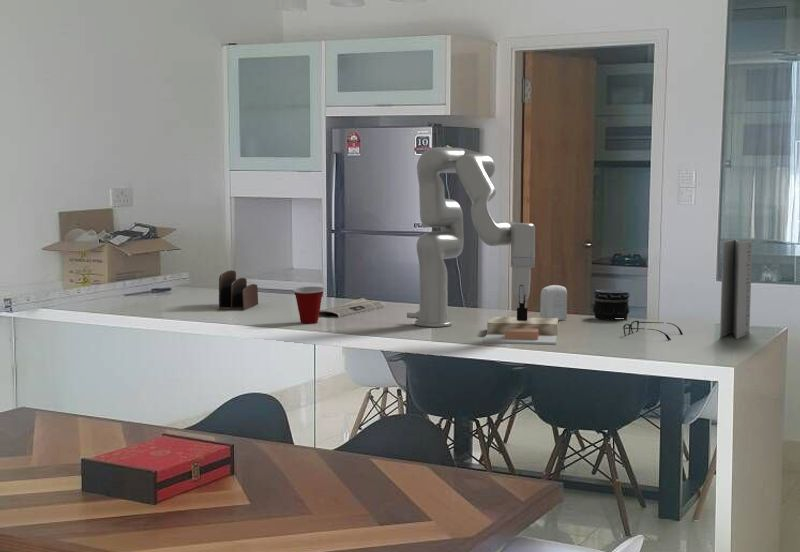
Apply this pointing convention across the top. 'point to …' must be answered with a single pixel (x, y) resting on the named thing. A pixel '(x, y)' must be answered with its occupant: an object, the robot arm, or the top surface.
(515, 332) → the tile
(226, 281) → the letter holder
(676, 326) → the eyeglasses
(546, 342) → the mat
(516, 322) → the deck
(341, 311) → the newspaper
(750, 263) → the brochure
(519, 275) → the robot arm
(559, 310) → the photo printer
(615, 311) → the container
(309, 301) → the plastic cup
